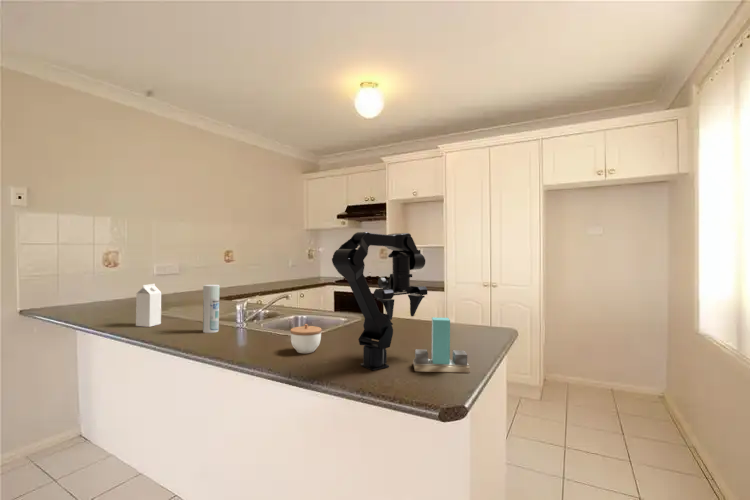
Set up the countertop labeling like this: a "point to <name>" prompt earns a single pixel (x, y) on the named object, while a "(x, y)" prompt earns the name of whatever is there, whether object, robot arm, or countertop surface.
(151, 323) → the milk carton
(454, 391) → the countertop surface
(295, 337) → the lidded jar
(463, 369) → the board
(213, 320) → the spray can
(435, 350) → the block
